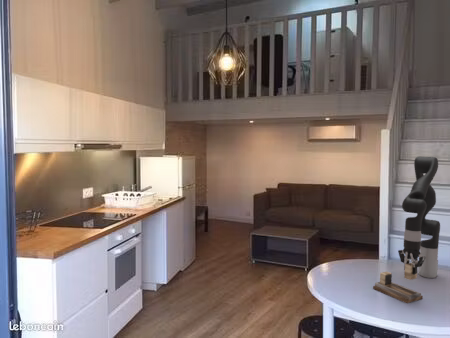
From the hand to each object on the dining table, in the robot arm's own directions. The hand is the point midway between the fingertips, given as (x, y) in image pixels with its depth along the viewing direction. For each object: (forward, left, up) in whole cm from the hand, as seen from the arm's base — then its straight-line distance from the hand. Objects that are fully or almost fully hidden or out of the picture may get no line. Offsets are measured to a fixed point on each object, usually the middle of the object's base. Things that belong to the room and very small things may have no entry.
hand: (410, 272), depth 187 cm
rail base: (0, -7, -13) cm, 15 cm away
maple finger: (0, 0, -3) cm, 3 cm away
